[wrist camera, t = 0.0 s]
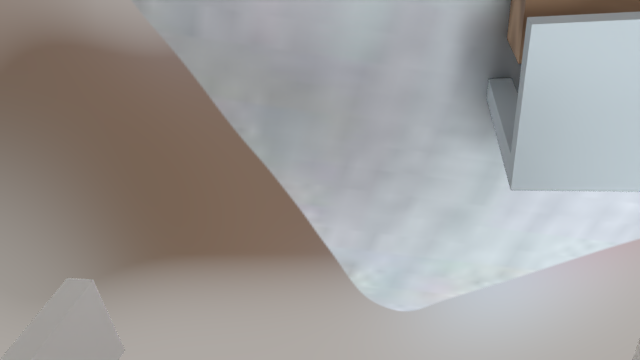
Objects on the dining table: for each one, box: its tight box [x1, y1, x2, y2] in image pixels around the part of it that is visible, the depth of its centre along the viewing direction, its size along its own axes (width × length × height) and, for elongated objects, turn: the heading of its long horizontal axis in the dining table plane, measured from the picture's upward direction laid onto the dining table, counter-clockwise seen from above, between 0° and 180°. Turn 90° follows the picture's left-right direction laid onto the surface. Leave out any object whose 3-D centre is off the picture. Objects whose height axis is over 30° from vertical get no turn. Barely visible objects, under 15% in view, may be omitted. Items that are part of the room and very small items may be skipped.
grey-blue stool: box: [487, 12, 640, 192], centre depth 29 cm, size 9×14×12 cm, turn 95°
